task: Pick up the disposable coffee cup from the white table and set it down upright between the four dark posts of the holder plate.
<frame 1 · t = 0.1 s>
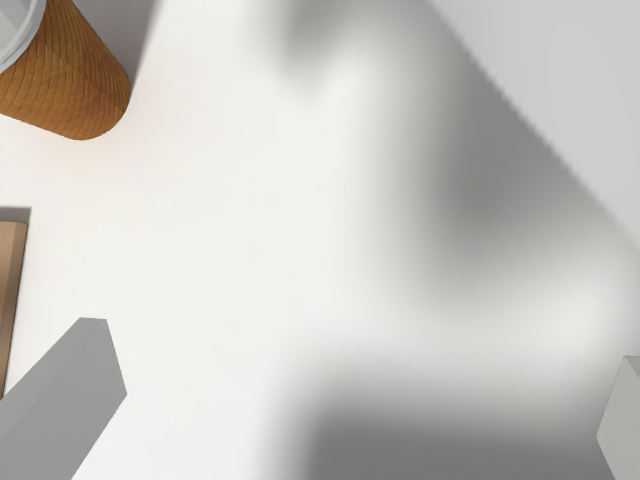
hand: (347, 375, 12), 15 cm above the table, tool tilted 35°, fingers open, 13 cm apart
disposable coffee cup: (88, 97, 33), on the table
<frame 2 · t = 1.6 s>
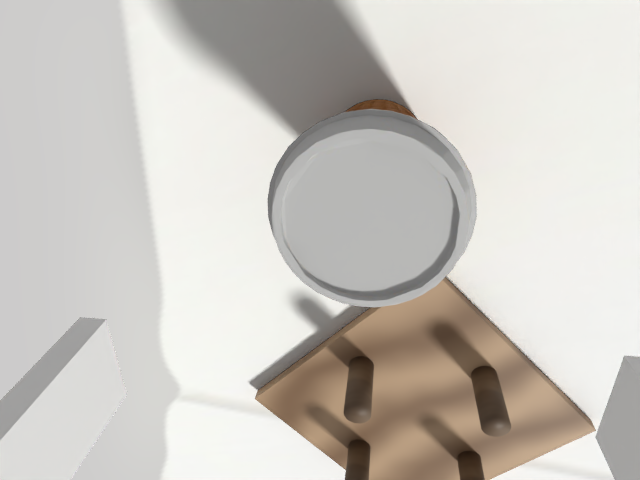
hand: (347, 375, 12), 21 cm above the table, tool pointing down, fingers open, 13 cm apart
disposable coffee cup: (376, 147, 31), on the table
holder: (416, 404, 41), on the table
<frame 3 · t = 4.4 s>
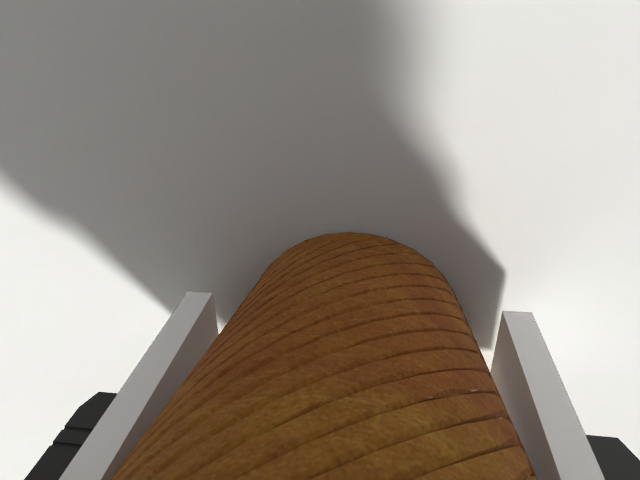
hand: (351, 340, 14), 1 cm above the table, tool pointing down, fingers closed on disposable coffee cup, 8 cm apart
disposable coffee cup: (353, 319, 15), on the table, touching gripper
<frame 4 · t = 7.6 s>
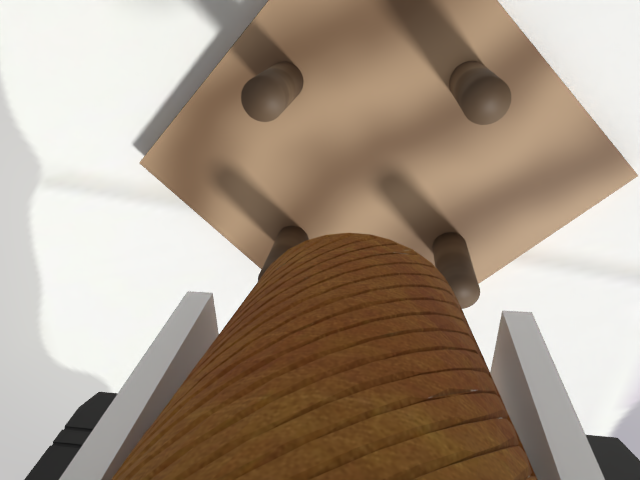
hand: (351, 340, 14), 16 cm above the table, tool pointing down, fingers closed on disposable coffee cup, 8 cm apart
disposable coffee cup: (353, 319, 15), point 15 cm above the table, touching gripper
holder: (372, 163, 28), on the table
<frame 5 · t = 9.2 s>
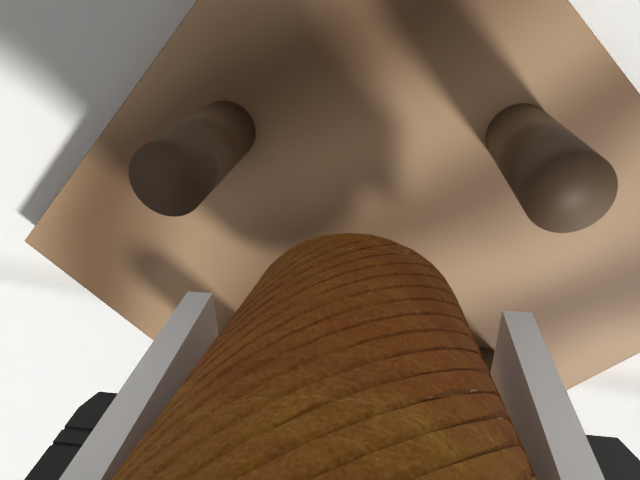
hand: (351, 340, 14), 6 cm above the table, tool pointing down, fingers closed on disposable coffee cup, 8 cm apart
disposable coffee cup: (353, 319, 15), point 5 cm above the table, touching gripper
holder: (365, 246, 19), on the table
when the fingers open (3 cm above the table, at t = 10.7 s): disposable coffee cup drops 1 cm, resting on holder.
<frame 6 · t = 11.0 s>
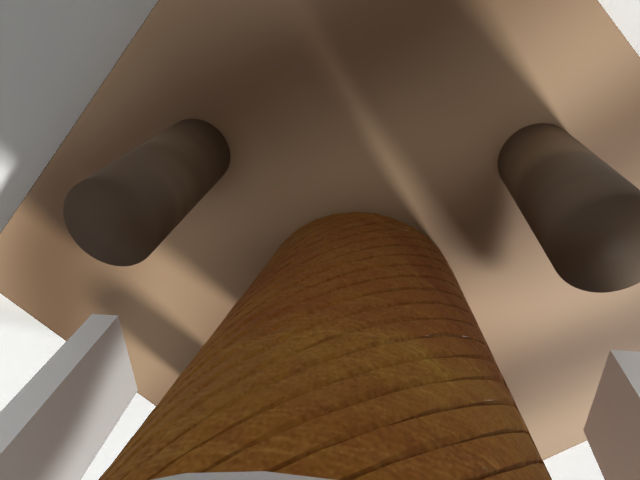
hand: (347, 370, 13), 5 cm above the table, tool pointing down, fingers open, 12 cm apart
disposable coffee cup: (358, 294, 16), point 1 cm above the table, touching holder
holder: (358, 280, 17), on the table
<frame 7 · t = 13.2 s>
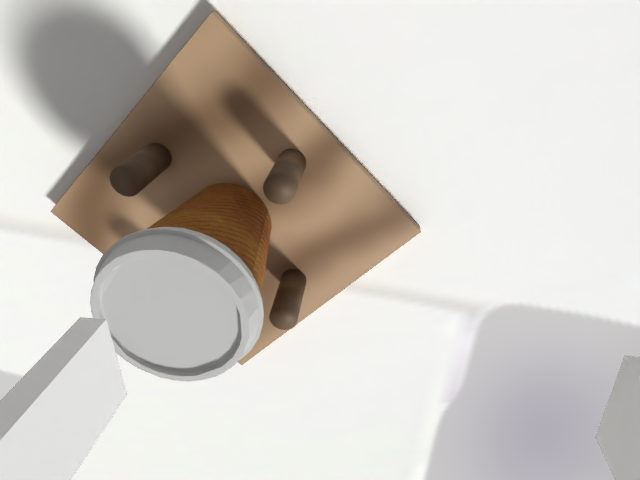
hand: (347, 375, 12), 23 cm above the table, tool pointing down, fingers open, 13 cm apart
disposable coffee cup: (231, 220, 36), point 1 cm above the table, touching holder
holder: (232, 215, 36), on the table
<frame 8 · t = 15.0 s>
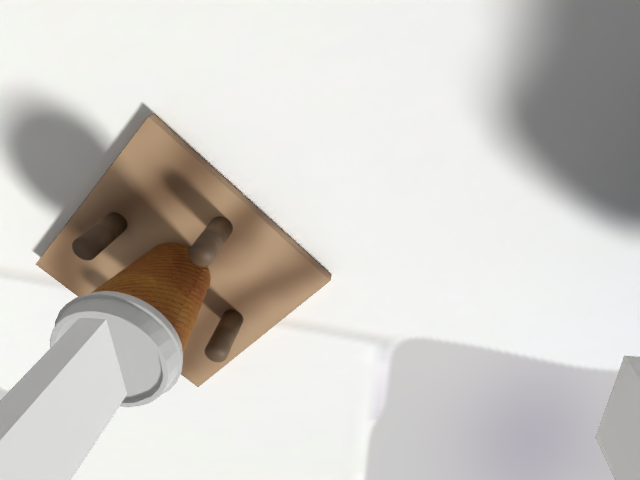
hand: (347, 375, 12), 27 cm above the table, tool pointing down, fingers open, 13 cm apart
disposable coffee cup: (178, 271, 44), point 1 cm above the table, touching holder
holder: (181, 266, 44), on the table
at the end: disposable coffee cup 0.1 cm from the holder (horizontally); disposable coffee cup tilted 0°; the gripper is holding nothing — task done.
